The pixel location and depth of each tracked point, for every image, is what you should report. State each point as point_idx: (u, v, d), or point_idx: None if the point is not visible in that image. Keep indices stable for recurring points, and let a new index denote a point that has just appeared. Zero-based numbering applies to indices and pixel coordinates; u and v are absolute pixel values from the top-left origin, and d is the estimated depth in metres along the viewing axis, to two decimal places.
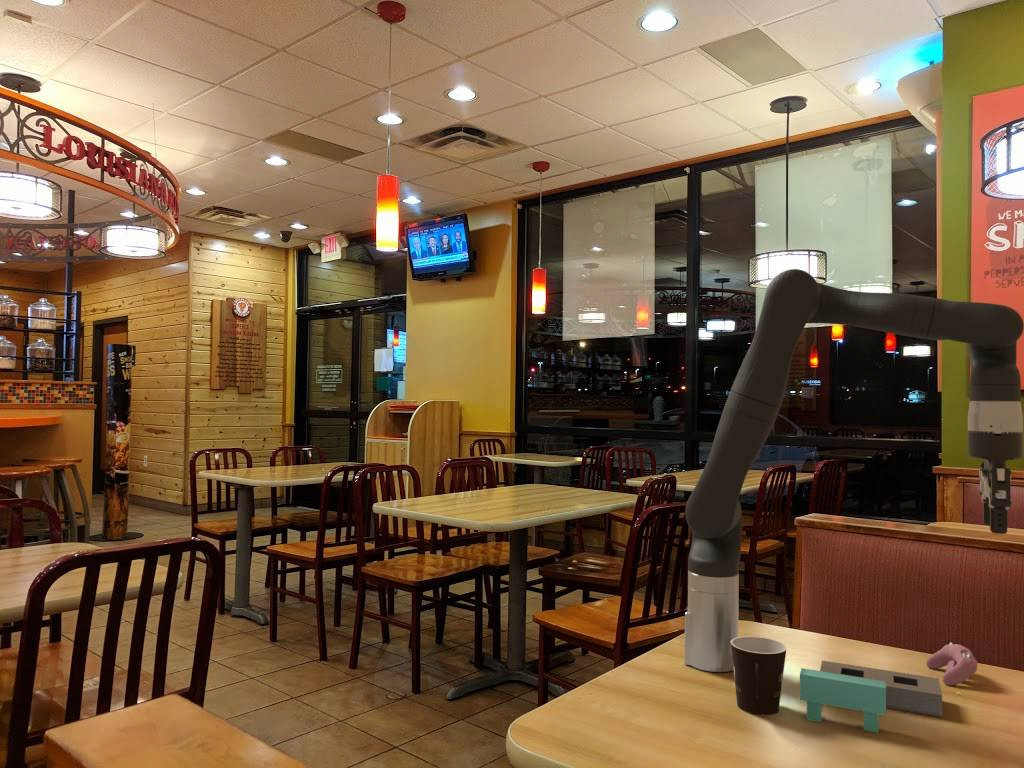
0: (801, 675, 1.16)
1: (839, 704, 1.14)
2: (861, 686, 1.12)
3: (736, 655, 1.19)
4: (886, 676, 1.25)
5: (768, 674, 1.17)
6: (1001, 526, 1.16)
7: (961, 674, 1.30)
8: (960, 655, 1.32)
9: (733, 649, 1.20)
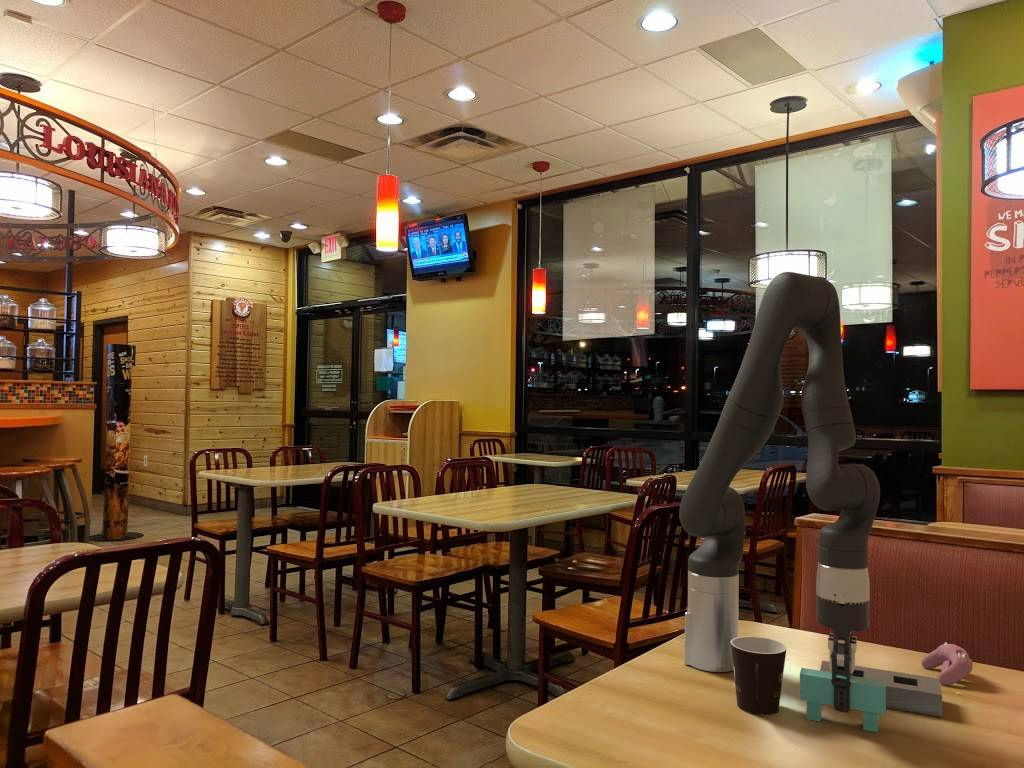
0: (801, 675, 1.16)
1: None
2: (861, 686, 1.12)
3: (736, 655, 1.19)
4: (886, 676, 1.25)
5: (768, 674, 1.17)
6: (843, 705, 1.12)
7: (957, 673, 1.30)
8: (955, 655, 1.32)
9: (733, 649, 1.20)
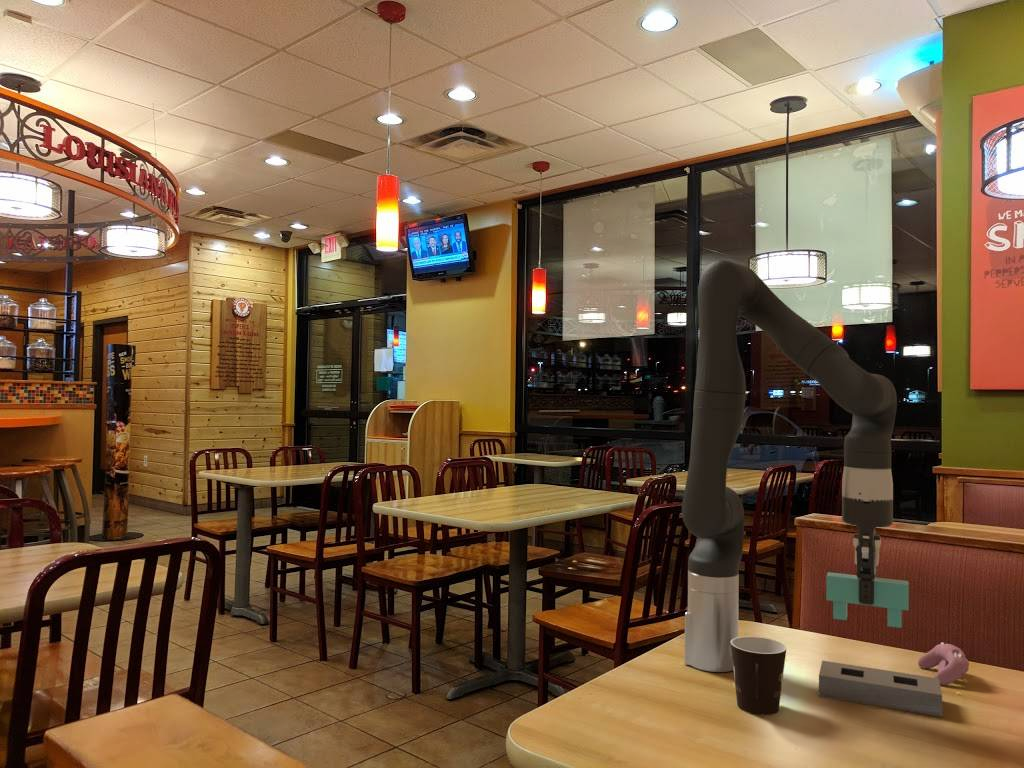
0: (828, 576, 1.23)
1: None
2: (885, 584, 1.19)
3: (736, 655, 1.19)
4: (886, 676, 1.25)
5: (768, 674, 1.17)
6: (867, 597, 1.19)
7: (953, 673, 1.31)
8: (952, 655, 1.32)
9: (733, 649, 1.20)
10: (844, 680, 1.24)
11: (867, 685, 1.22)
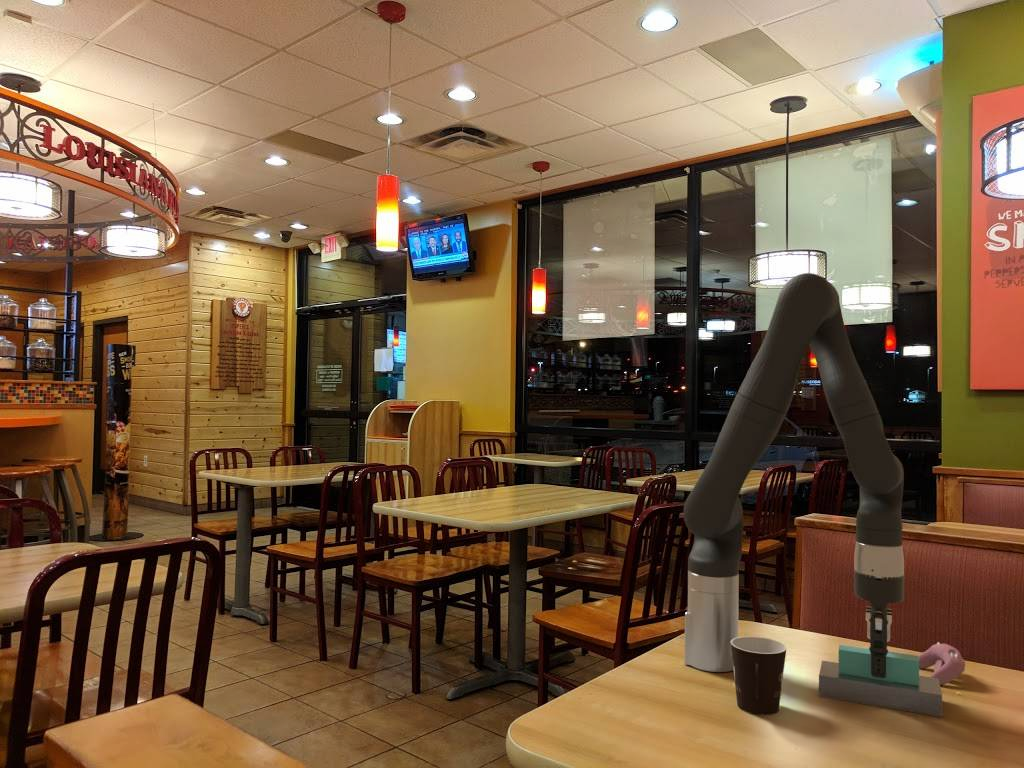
0: (840, 650, 1.27)
1: None
2: (896, 660, 1.23)
3: (736, 655, 1.19)
4: None
5: (768, 674, 1.17)
6: (880, 671, 1.21)
7: (949, 673, 1.31)
8: (948, 655, 1.32)
9: (733, 649, 1.20)
10: (844, 680, 1.24)
11: (867, 685, 1.22)
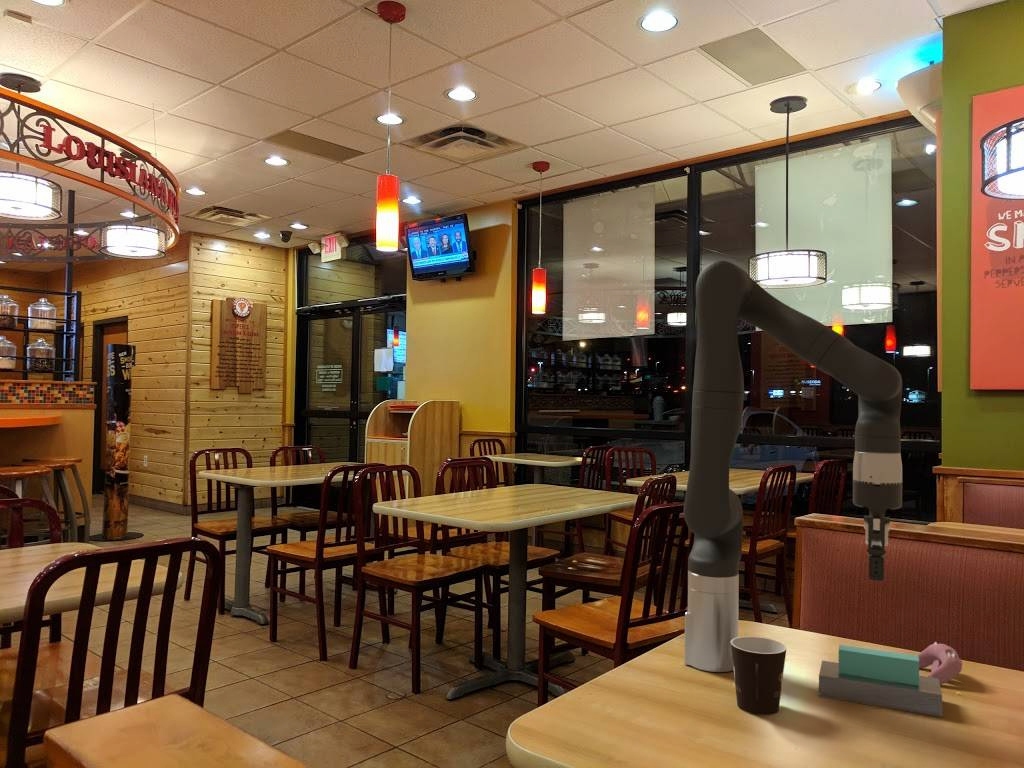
0: (840, 650, 1.27)
1: (875, 676, 1.24)
2: (896, 660, 1.23)
3: (736, 655, 1.19)
4: None
5: (768, 674, 1.17)
6: (878, 573, 1.22)
7: (947, 673, 1.31)
8: (945, 655, 1.33)
9: (733, 649, 1.20)
10: (844, 680, 1.24)
11: (867, 685, 1.22)
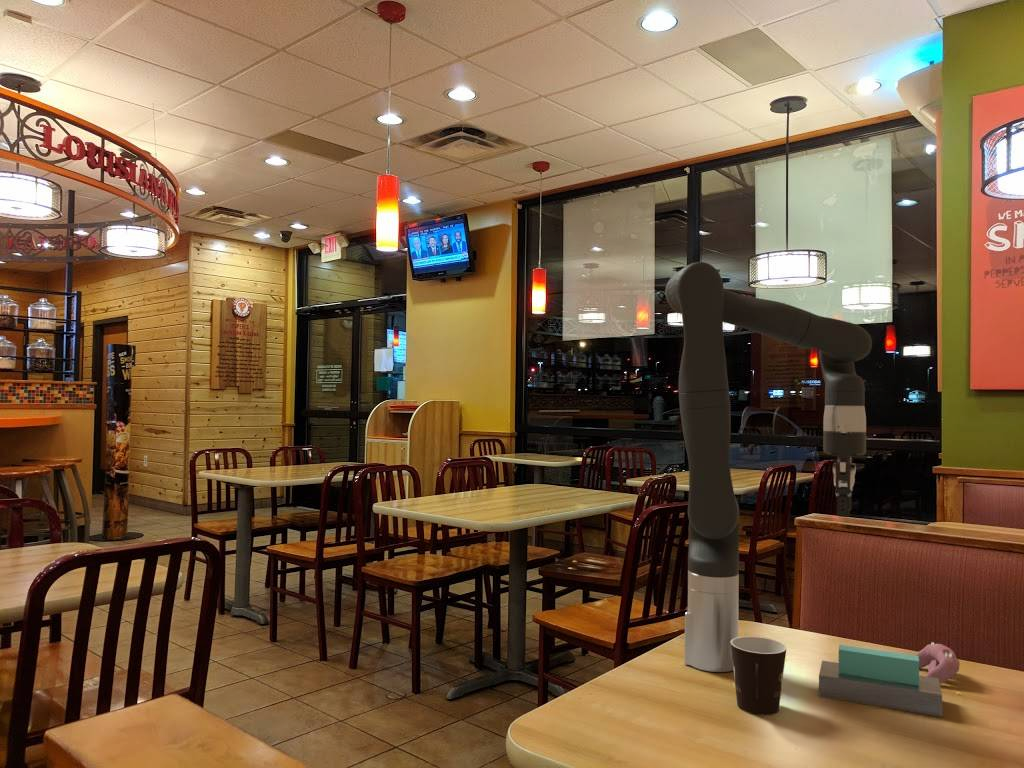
0: (840, 650, 1.27)
1: (875, 676, 1.24)
2: (896, 660, 1.23)
3: (736, 655, 1.19)
4: None
5: (768, 674, 1.17)
6: (844, 510, 1.39)
7: (944, 673, 1.31)
8: (942, 655, 1.33)
9: (733, 649, 1.20)
10: (844, 680, 1.24)
11: (867, 685, 1.22)
